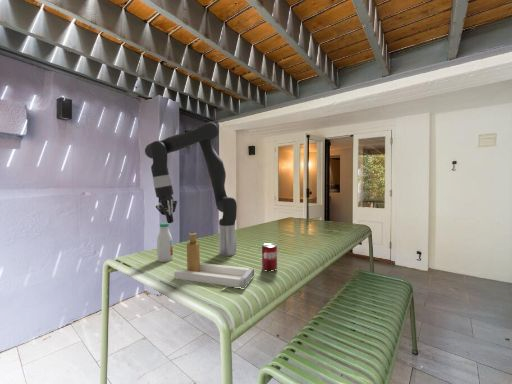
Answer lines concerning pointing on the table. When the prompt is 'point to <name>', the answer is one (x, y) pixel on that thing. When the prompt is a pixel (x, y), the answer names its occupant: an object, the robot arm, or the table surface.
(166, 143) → the robot arm
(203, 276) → the white trough
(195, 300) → the table surface
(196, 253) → the amber bottle
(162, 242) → the milk bottle
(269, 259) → the soda can
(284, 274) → the table surface
